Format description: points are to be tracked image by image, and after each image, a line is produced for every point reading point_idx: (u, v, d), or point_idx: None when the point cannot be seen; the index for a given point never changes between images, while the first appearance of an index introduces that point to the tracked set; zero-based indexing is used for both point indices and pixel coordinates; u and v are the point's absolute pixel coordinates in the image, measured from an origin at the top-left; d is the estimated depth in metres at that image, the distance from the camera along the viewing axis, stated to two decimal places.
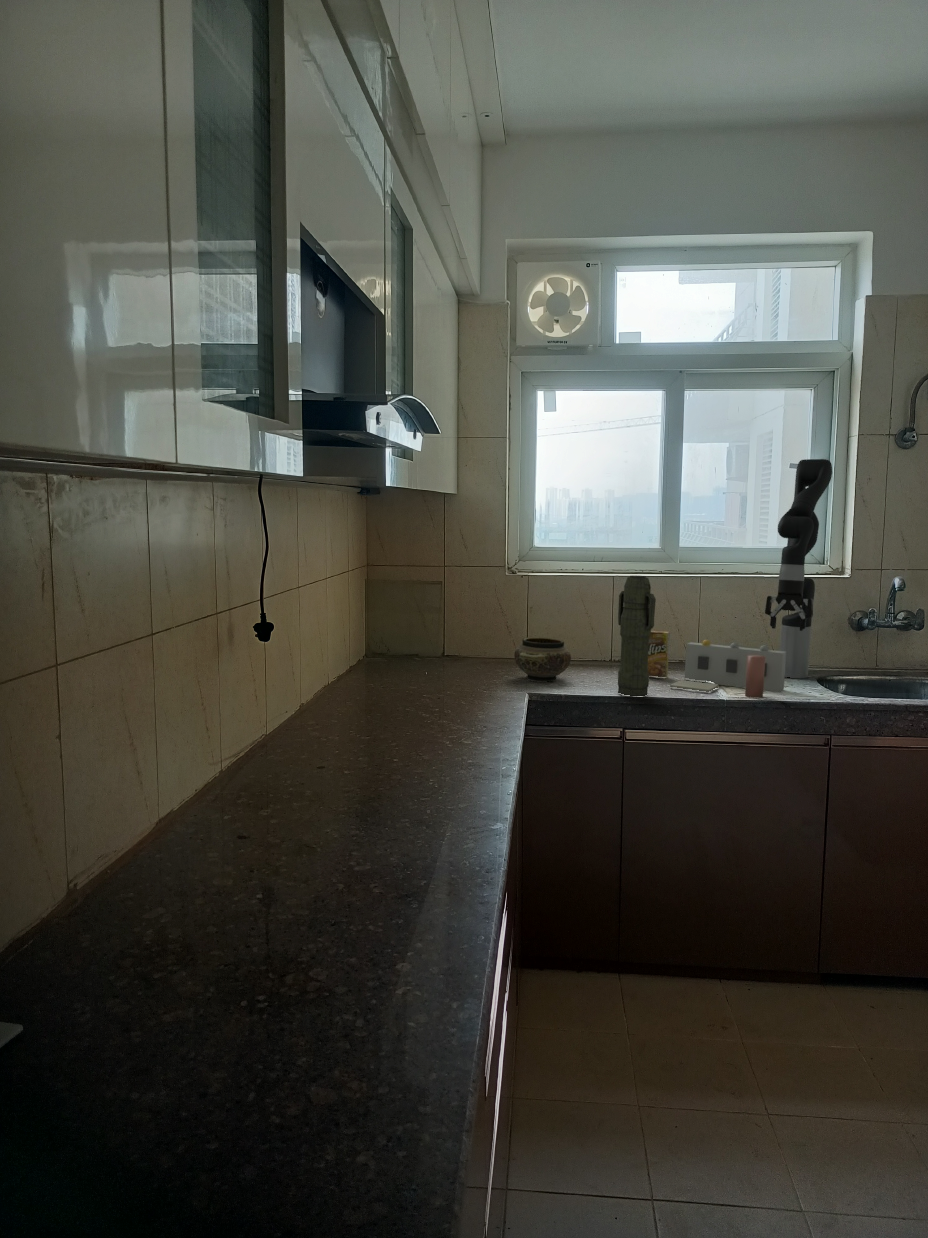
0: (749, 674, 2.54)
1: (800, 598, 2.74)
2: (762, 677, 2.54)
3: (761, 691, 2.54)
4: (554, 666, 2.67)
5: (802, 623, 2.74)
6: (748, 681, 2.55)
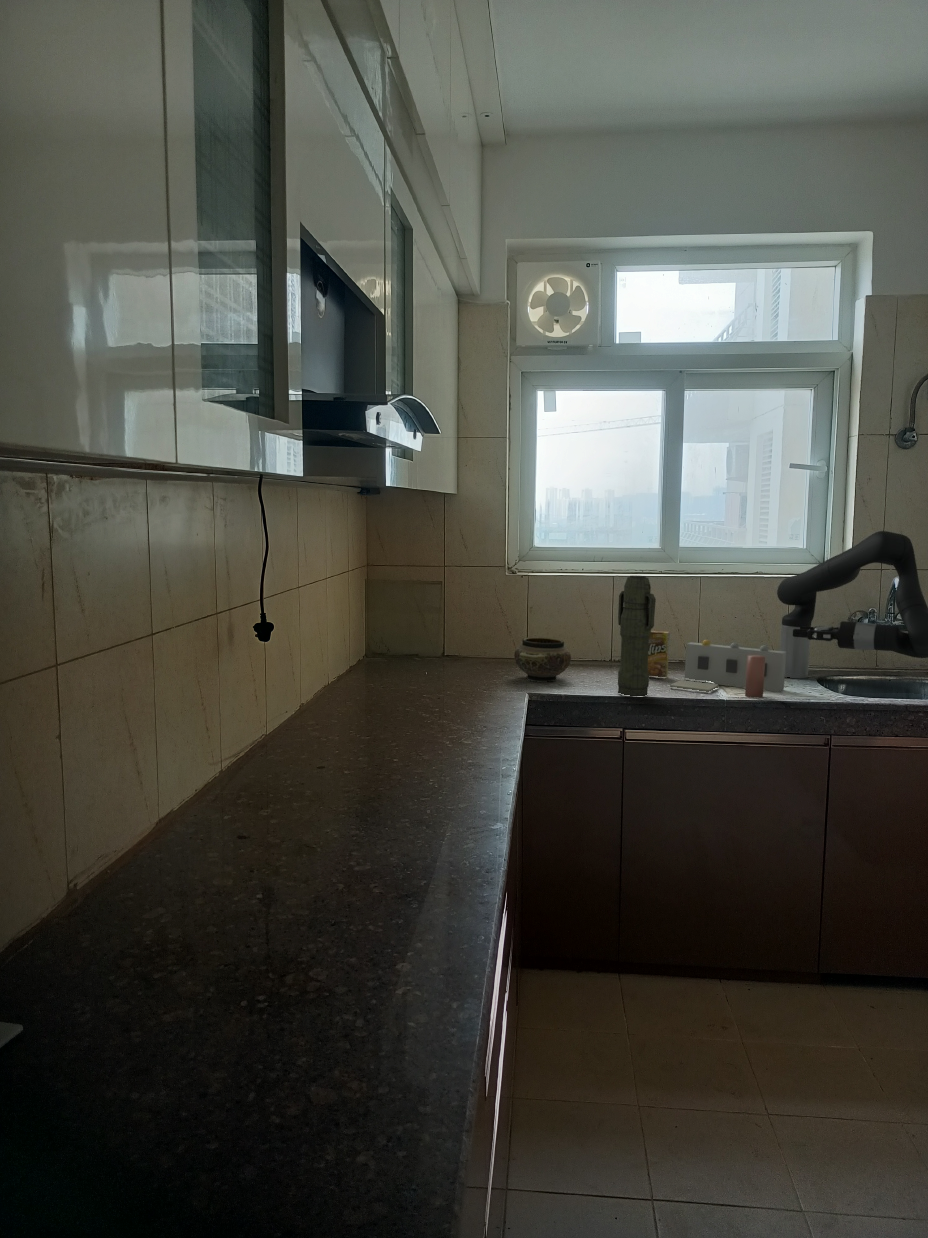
0: (749, 674, 2.54)
1: None
2: (762, 677, 2.54)
3: (761, 691, 2.54)
4: (554, 666, 2.67)
5: None
6: (748, 681, 2.55)
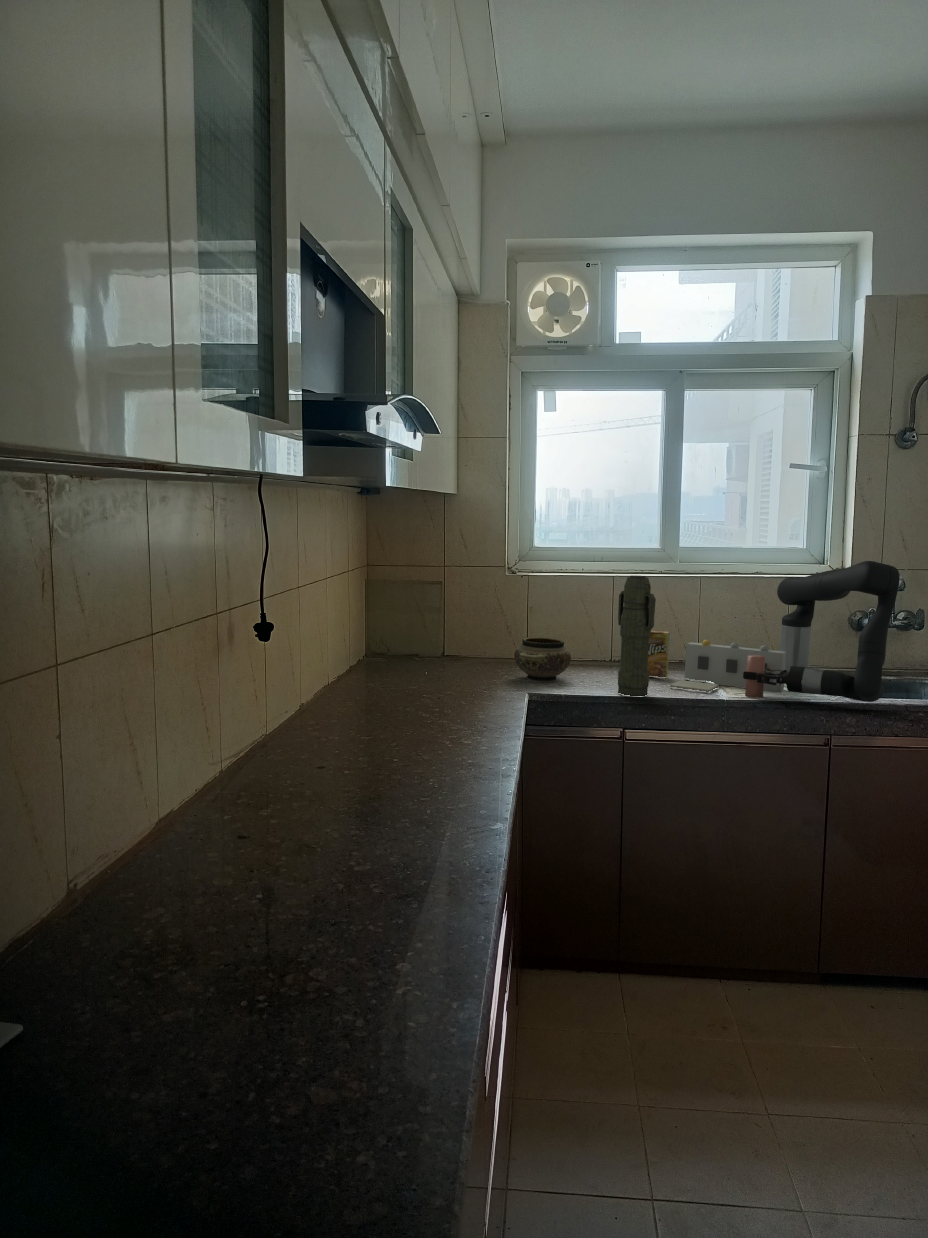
0: None
1: None
2: (762, 677, 2.54)
3: (761, 691, 2.54)
4: (554, 666, 2.67)
5: None
6: (748, 681, 2.55)
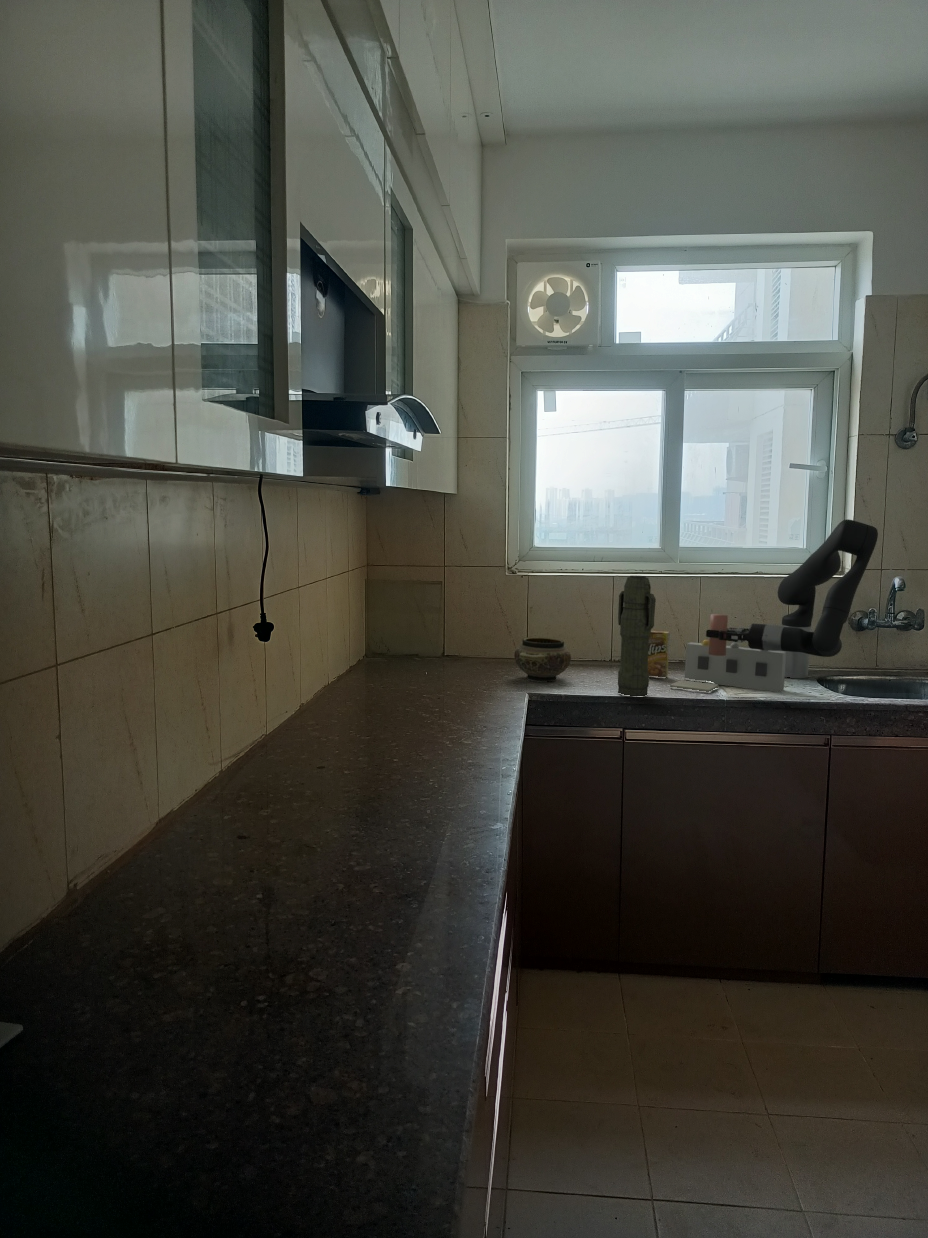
0: None
1: None
2: (725, 635, 2.58)
3: (724, 649, 2.59)
4: (554, 666, 2.67)
5: None
6: (711, 639, 2.60)
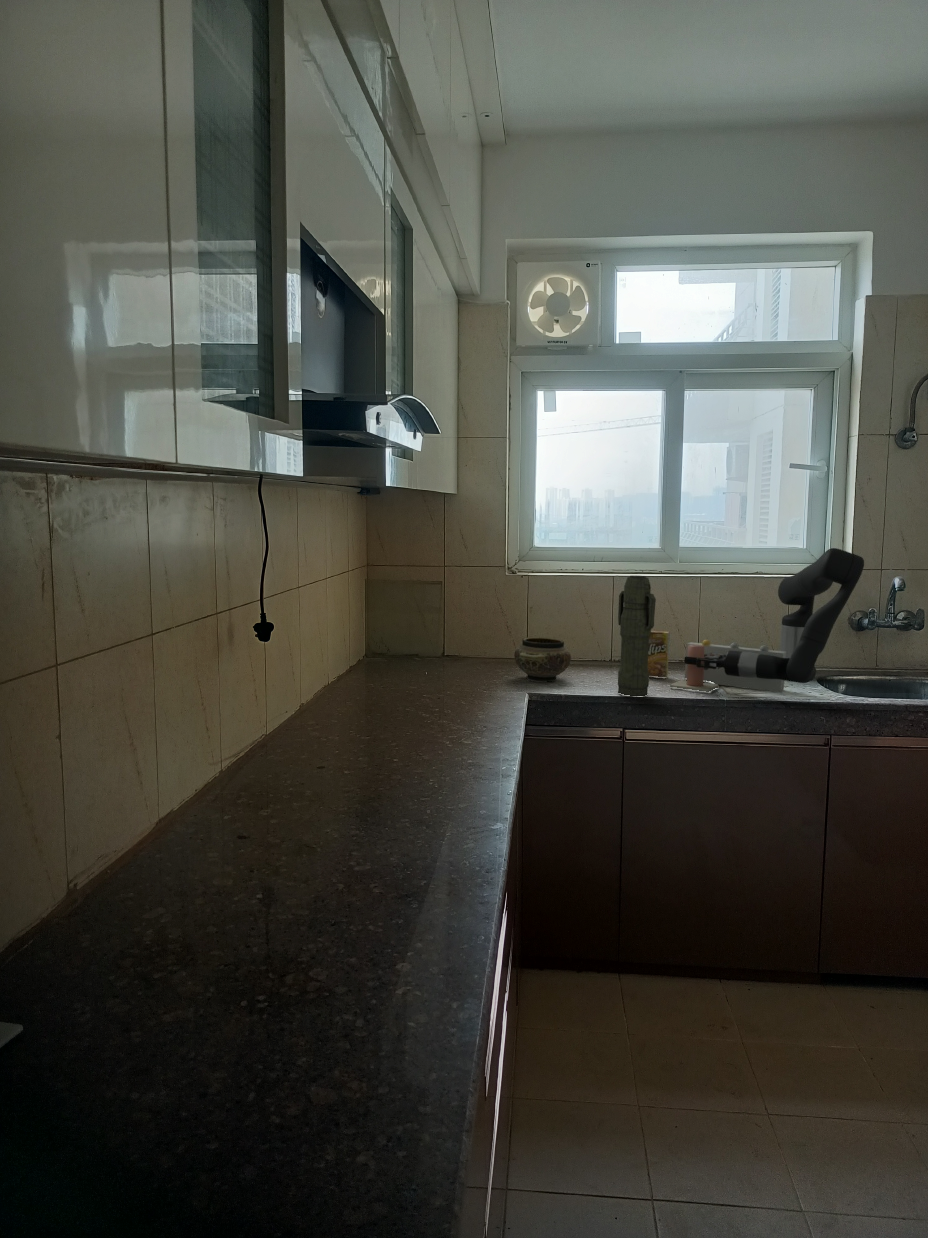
0: None
1: None
2: None
3: (701, 679, 2.64)
4: (554, 666, 2.67)
5: None
6: (688, 670, 2.64)
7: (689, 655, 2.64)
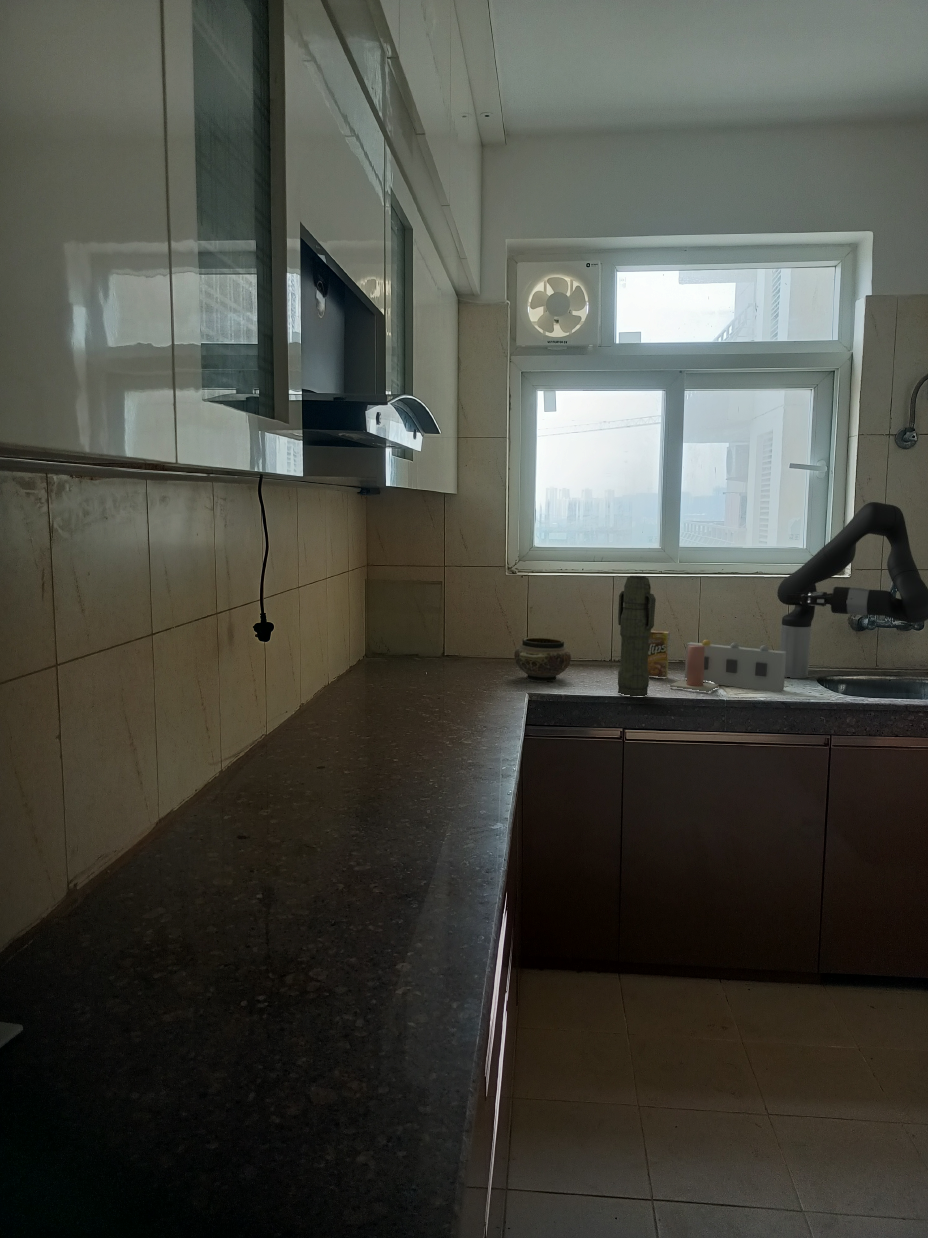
0: (689, 663, 2.64)
1: None
2: (701, 666, 2.63)
3: (701, 679, 2.64)
4: (554, 666, 2.67)
5: None
6: (688, 670, 2.64)
7: (689, 655, 2.64)
